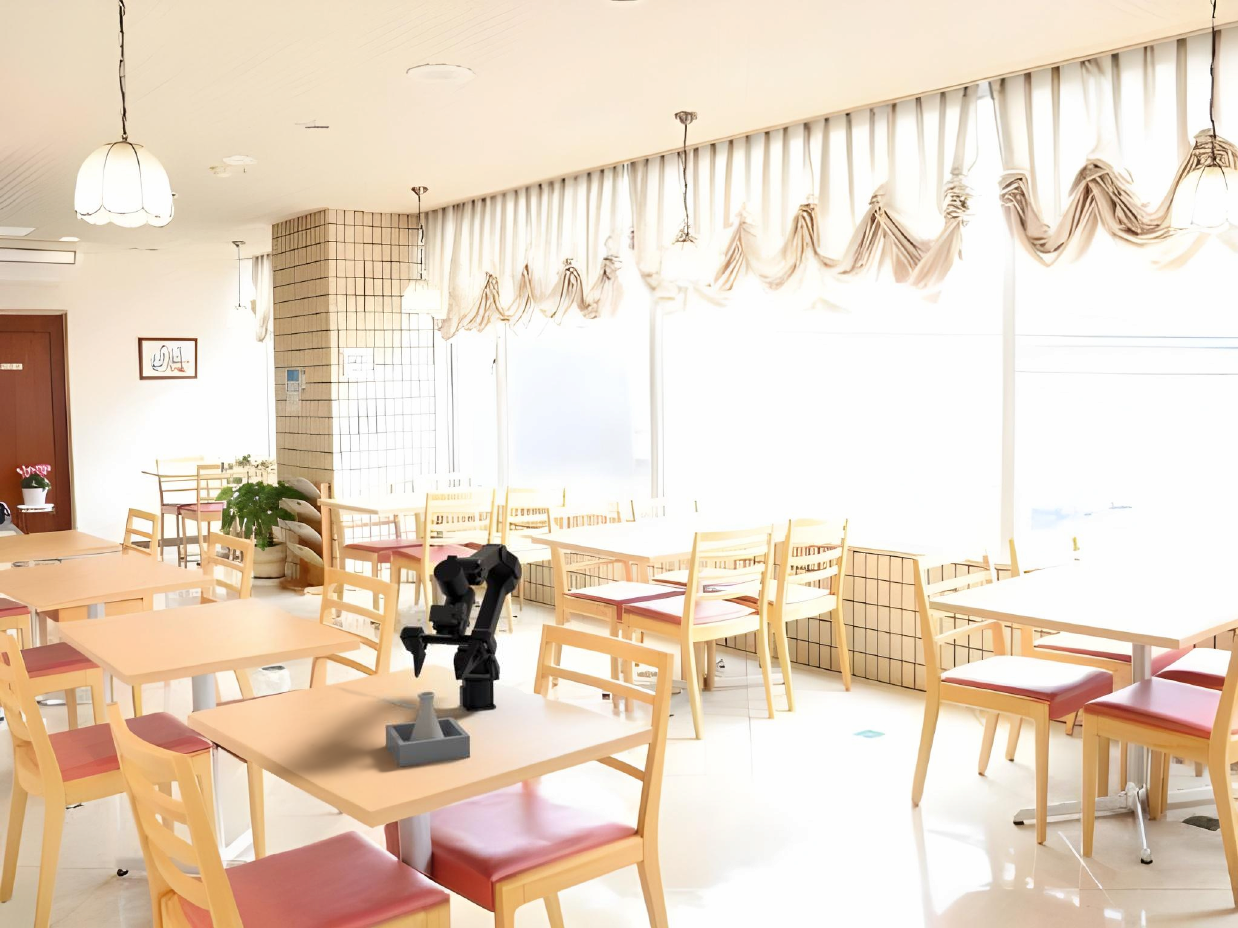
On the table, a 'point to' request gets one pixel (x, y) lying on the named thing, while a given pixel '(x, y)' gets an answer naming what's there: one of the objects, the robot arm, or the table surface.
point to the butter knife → (399, 703)
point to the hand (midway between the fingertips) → (438, 677)
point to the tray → (427, 743)
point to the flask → (426, 720)
